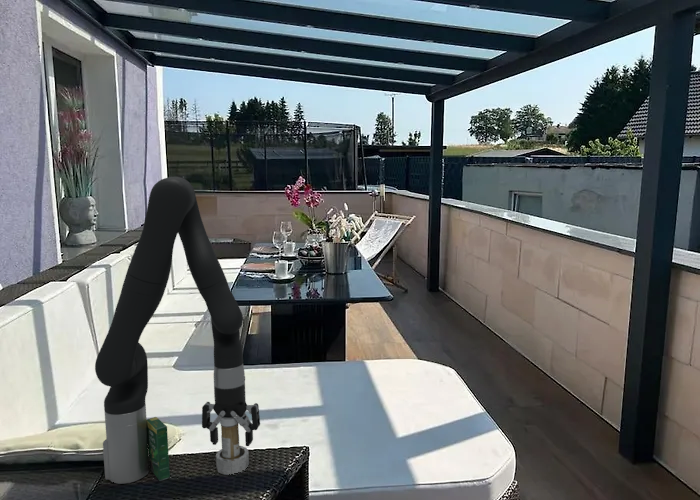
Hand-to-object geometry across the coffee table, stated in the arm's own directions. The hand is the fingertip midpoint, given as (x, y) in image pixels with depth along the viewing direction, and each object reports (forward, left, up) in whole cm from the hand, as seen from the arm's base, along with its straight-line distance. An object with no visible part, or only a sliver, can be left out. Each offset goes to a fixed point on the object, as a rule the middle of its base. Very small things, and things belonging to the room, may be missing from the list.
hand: (231, 444), depth 130 cm
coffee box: (-17, -5, -6) cm, 19 cm away
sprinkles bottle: (0, 0, -6) cm, 6 cm away
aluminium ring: (0, 0, -6) cm, 6 cm away
